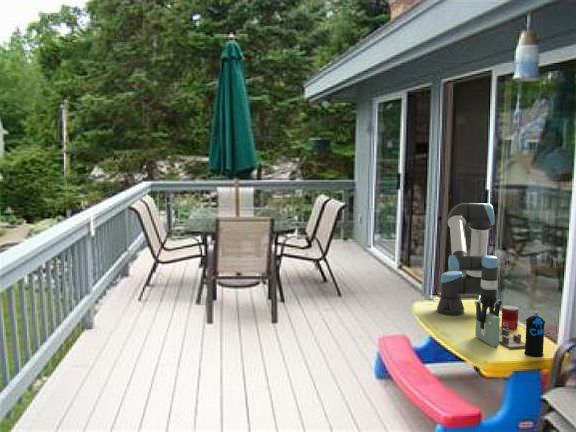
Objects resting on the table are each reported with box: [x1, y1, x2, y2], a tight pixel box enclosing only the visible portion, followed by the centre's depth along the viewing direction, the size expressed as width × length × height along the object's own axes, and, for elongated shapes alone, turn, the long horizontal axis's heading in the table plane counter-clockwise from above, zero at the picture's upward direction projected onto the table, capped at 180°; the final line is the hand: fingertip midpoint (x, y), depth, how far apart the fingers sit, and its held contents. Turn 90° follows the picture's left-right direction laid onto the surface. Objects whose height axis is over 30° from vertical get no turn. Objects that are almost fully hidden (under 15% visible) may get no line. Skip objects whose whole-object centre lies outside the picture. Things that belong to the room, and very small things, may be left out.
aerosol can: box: [523, 311, 546, 358], centre depth 269 cm, size 8×8×20 cm
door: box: [474, 307, 501, 348], centre depth 286 cm, size 16×4×14 cm, turn 12°
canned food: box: [501, 305, 519, 331], centre depth 309 cm, size 8×8×11 cm
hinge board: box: [499, 327, 525, 350], centre depth 289 cm, size 24×10×4 cm, turn 12°
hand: (486, 334), depth 287 cm, fingers closed on door, 3 cm apart
